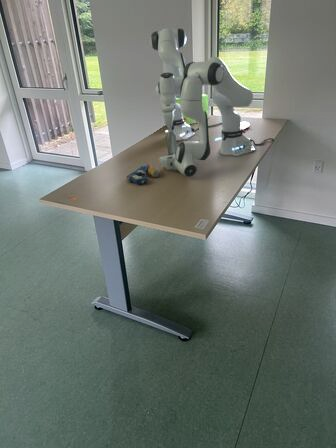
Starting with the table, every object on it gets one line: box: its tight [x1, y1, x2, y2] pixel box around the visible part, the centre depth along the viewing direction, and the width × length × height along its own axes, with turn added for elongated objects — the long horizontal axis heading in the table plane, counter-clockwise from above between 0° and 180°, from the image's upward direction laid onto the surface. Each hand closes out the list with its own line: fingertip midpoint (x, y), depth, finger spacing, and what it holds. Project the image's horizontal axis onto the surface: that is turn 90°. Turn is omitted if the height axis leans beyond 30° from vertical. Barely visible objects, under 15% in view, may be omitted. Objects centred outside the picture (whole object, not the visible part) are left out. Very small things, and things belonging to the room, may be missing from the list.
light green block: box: [176, 93, 209, 126], centre depth 283 cm, size 25×21×23 cm
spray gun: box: [125, 164, 160, 185], centre depth 188 cm, size 21×4×15 cm
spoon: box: [240, 120, 251, 130], centre depth 250 cm, size 35×11×2 cm, turn 159°
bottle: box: [166, 130, 178, 155], centre depth 199 cm, size 6×6×22 cm
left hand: (170, 129), depth 194 cm, fingers open, 6 cm apart
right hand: (172, 154), depth 203 cm, fingers closed on bottle, 5 cm apart
